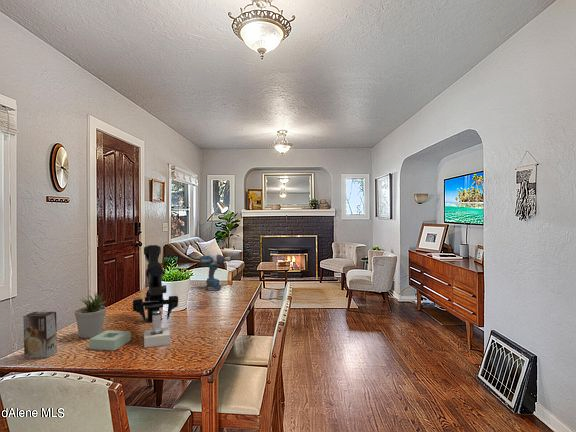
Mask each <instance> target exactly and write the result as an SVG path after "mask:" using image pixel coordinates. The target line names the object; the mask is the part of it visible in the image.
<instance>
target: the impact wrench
mask: <svg viewBox="0 0 576 432" xmlns="http://www.w3.org/2000/svg"><path fill="white" fill-rule="evenodd" d="M198 261H199V264H200V267H202V268H208V278H206V282H205V283H206V286H205V287H206V291H208V292H209V291H210V292H217V291H220V290H221V289H222V284H221V283H220V279H218V278H215V276H214V275H215V273H216V271H217V270H218V267H219V266H220V265H222V264H224V263H225V262H228V263H229V262H231V261H232V257H231V256H226V257H225V256H224V255H222V254H220V253H219V254H207V255H202V256H200V257H199V260H198Z"/></svg>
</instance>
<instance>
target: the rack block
mask: <svg viewBox="0 0 576 432" xmlns="http://www.w3.org/2000/svg"><path fill="white" fill-rule="evenodd" d="M131 334H132V333H131V331H130V330H114V329H113V330H112V329H111V330H110V329H109V330H108V329H106V330H103V331H102V333H100V334H98V335H97V336H95V337H92V338H88V339H89V340H88V341H89V350H99V351H114V350H115V351H116V350H118V349H119V348H121V347H123V346H124V345H126V344H127V343H129V342H131Z"/></svg>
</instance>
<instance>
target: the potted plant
mask: <svg viewBox="0 0 576 432" xmlns="http://www.w3.org/2000/svg"><path fill="white" fill-rule="evenodd" d="M104 292H105V291H103V292H102V293H101V295H98V291H97V292H93V293H94V298H93V296H91V295H88V296H87V295H86V298H87V300H86V299H85V298H84V297H81V298H79V300H80V301H81V302H82V303H84V304H85V305H86V306H84V307H80V308H77V309H75V310H74V311H73V313H74V316H75V321H76V326H77V331H78V335H79V338H82V339H91V338H93V337H95V336H97V335H98V334H100V333H102V332H103V331H104V330H103V329H104V328H103V327H104V323H105V316H106V312H107V307H106V306H105V303H106V301H107V300H104V301H103V300H102V299H103V295H104ZM89 298H90V299H89Z"/></svg>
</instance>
